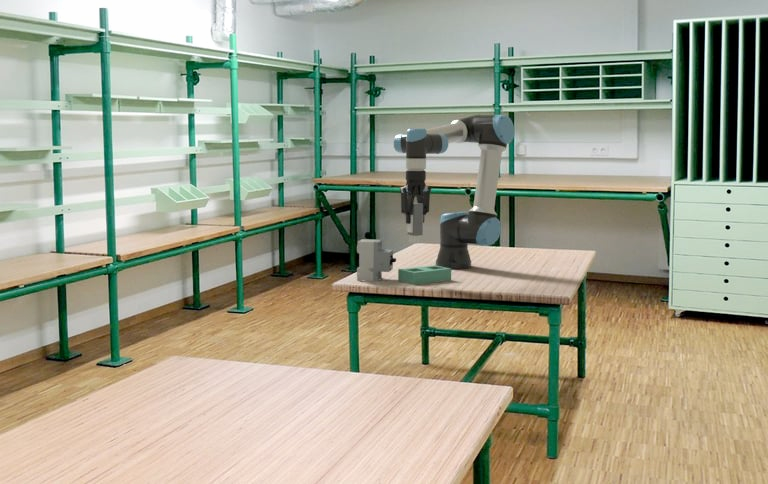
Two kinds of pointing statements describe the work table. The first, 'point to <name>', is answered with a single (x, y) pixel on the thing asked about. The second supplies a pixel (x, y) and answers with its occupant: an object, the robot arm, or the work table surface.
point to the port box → (424, 274)
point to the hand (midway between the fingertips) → (415, 231)
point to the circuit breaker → (373, 260)
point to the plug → (417, 223)
